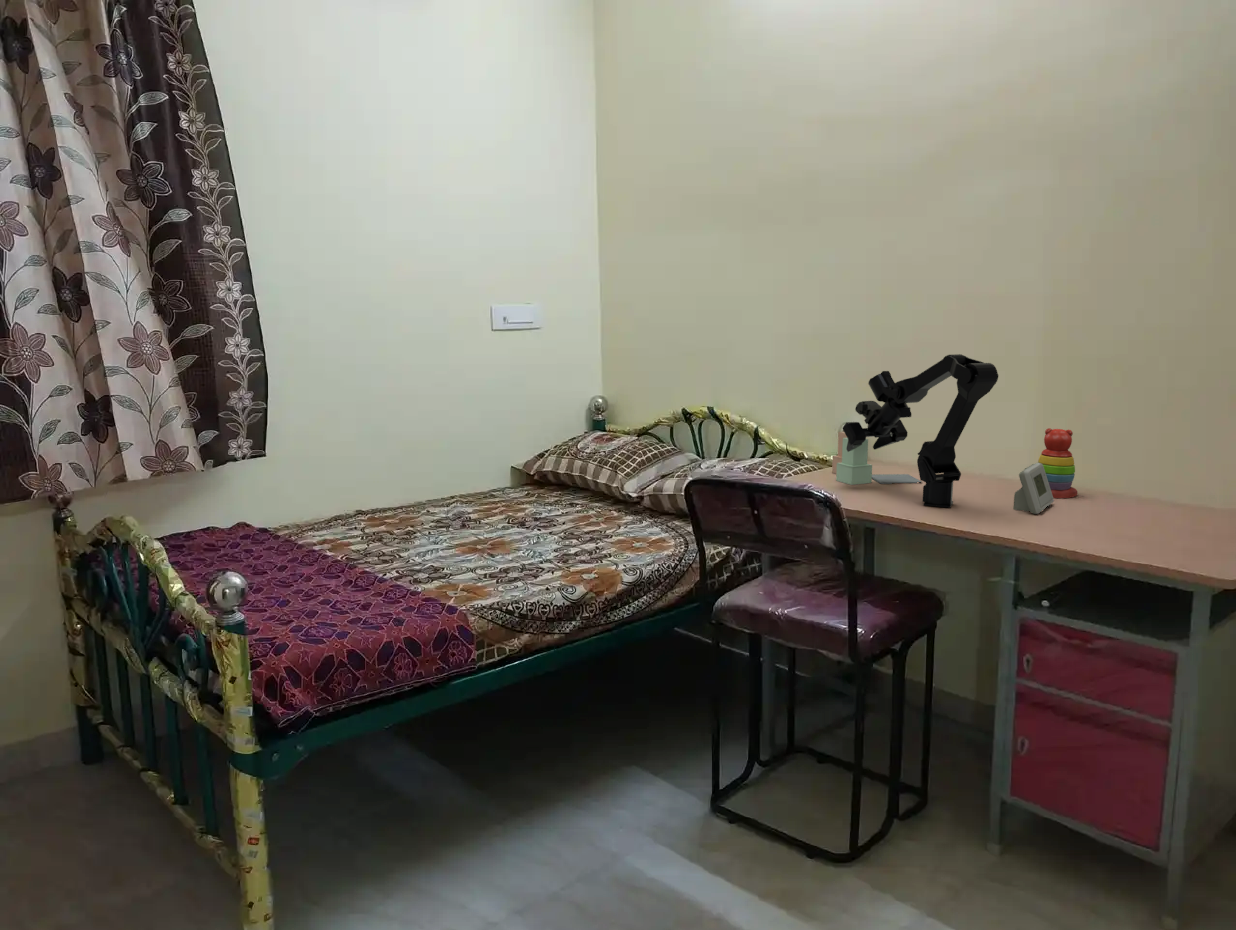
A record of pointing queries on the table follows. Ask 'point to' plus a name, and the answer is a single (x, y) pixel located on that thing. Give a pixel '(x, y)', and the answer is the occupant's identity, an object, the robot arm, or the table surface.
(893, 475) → the mat
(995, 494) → the table surface
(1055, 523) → the table surface
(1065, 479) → the stacking bear
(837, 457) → the pink stepped block
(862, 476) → the stepped green tower
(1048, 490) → the digital clock
